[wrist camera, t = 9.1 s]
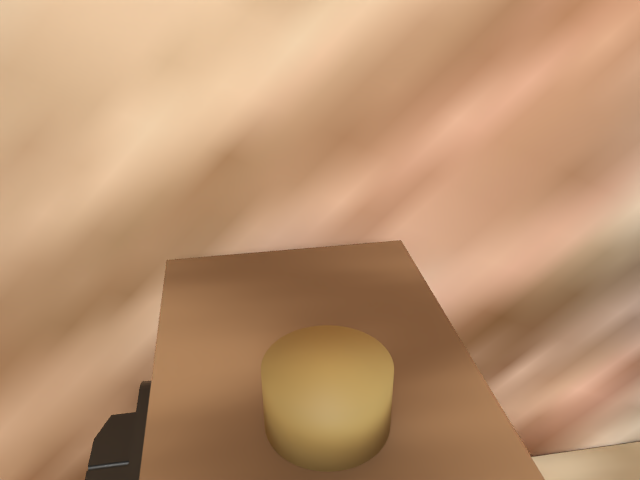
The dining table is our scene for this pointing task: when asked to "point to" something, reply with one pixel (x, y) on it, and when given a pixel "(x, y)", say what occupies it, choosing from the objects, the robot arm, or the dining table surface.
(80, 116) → the dining table surface
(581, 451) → the board
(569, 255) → the dining table surface
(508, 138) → the dining table surface
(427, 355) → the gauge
